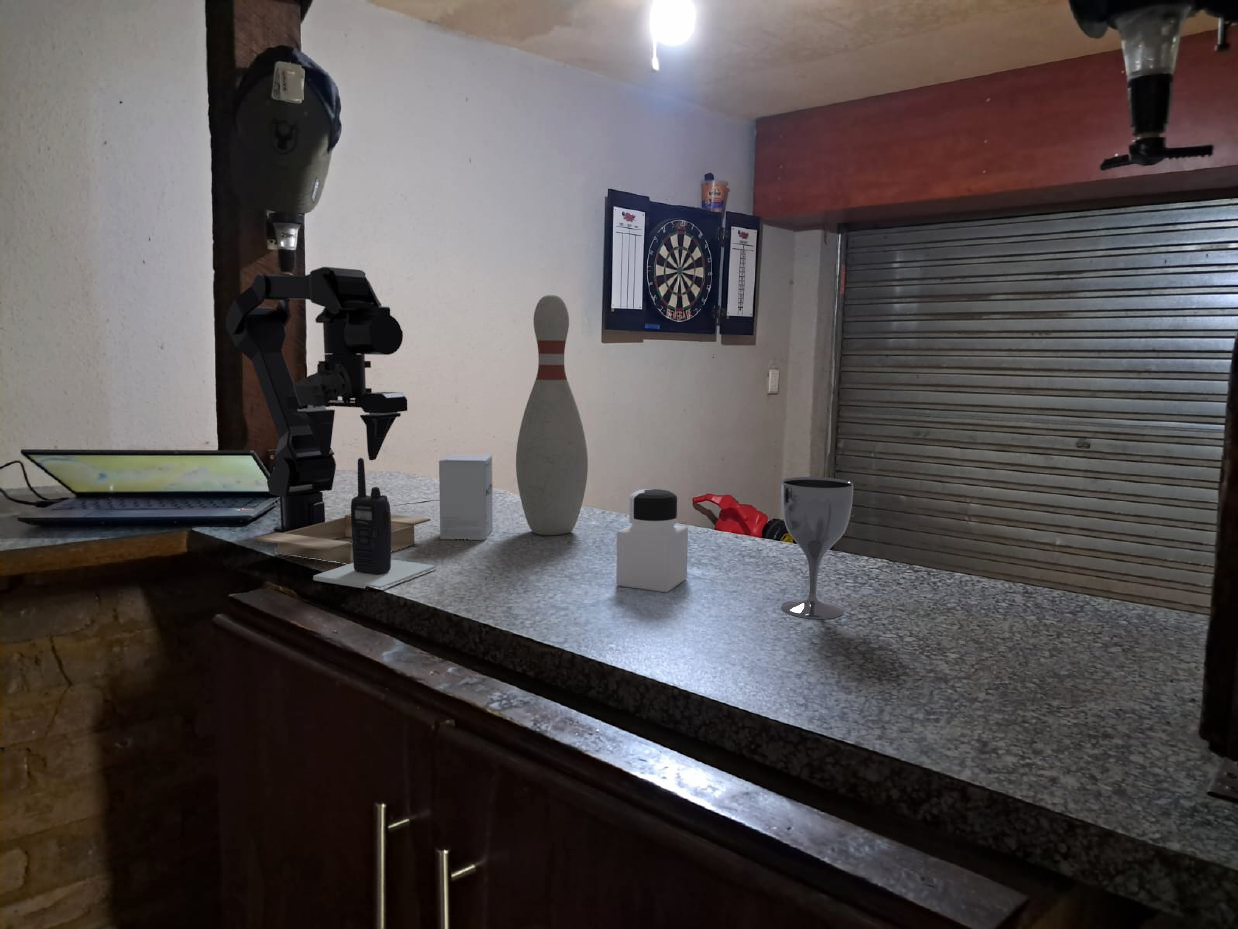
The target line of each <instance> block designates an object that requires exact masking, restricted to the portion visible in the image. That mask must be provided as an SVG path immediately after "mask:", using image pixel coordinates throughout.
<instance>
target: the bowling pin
mask: <svg viewBox="0 0 1238 929" xmlns="http://www.w3.org/2000/svg"><path fill="white" fill-rule="evenodd" d="M569 326H570V316H569V312H568V308H567V305H566V303H565V302H564V300H563V299H562V297H560V296H558V295H556V294H555V295H554V294H547V295H543V296H542V297H541V298H540V299H539V300H538V302H537V303H536V306H535V309H534V312H533V328H534V335H535V339H536V344H537V350H538V352H537V354H538V357H537V358H538V368H537V374H536V377H535V380H534V382H533V386H532V388H531V391H530V394H529V397H528V400H527V403H526V406H525V408H524V412H523V415H522V420H521V422H520V428H519V432H518V437H517V443H516V454H515V470H516V472H515V473H516V482H517V487H518V492H519V497H520V502H521V506H522V510H523V514H524V517H525V520H526V523H527V524H528V527H529V529H530V530H531V531H532V532H533V533H534V534H537V535H540V536H557V535H558V536H560V535H565V534H569V533H570V532H572V531H573V530H574V529H575V527H576V524H577V522H578V519H579V517H580V513H581V510H582V505H583V502H584V497H585V494H586V486H587V481H588V472H589V471H588V468H589V460H588V457H589V456H588V448H587V441H586V436H585V431H584V427H583V426H584V425H583V421H582V419H581V415H580V411H579V409H578V405H577V402H576V400H575V397H574V394H573V391H572V388H571V386H570V383H569V381H568V378H567V375H566V374H567V373H566V368H565V349H566V344H567V338H568V334H569V328H570V327H569Z"/></svg>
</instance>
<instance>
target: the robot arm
mask: <svg viewBox="0 0 1238 929" xmlns="http://www.w3.org/2000/svg"><path fill="white" fill-rule="evenodd" d="M265 300H270V301H279V302H278V304H277V305H276V306H275V307H276V308H275V307H273V306H261V305H262V304H263V303H264V301H265ZM291 300H309V301H310V302H311V303H312V304H315V305H317V306H321V307H322V308H323V310H322V311H321V312H320V313H319V314H318V315H317V316H316V317H315V319H314V320H315V323H316V324H322V326H323V327H322V328H323V329H322V330H323V349H324V351H323V352H324V360H318V363H317V366H316V368H317V369H316V372H315V373H313V374H310V375H308V376H306V377H304V378H302V379H300V380H299V381H297V382H295V383H294V381H293V378H292V375H291V372H290V369H289V367H288V364H287V361H286V358H285V355H284V352H283V347H284V344H285V341H286V338H287V332H286V327H287V325H288V323H289V321H290V320H291V317H292V314H291V310H290V305H289V303H290V301H291ZM225 327H226V331H227V332H228V334H229V336H230V337H231V340H232V341H233V342H232V343H233V345H234V346H235V348H236V349H237V350H238V351H239V352H241V353H242V354H243V355H244V356H245V357H247V358H248V359H249V361H251V362H252V366H253V369H254V372H255V373H256V376H257V380H258V382H259V385H260V388H261V391H262V394H263V396H264V399H265V403H266V405H267V408H268V411H269V413H270V417H271V419H272V422H273V425H274V428H275V430H276V433H277V436H278V443H277V446H276V449H275V454H274V459H275V466H274V468H273V470H272V471H271V473H270V475H269V477H268V479H267V481H266V485H267V489H268V493H269V494H270V495H272V496H277V497H279V509H280V525H279V526H276V527H275V526H274V527H273V531H274V532H279V533H284V532H288V531H292V530H296V529H300V528H304V527H308V526H312V525H316V524H320V523H324V522H326V512H325V511H326V510H325V506H326V505H325V501H324V498H323V497H324V495H323V492H325V491H327V492H328V491H330V492H331V491H332V490H333V486H334V479H335V474H336V468H337V464H336V460H335V457H334V455H335V452H334V451H333V450H332V448H331V446H332V439H333V430H334V423H335V422H334V421H335V415H336V414H335V413H336V410H335V409H331V408H330V407H341V408H342V407H343V408H361V409H362V412H364V413H366V414H360V415H359V417H360V418H361V420H362V422H363V423H364V425H365V428H366V445H367V455H368V456H367V457H368V460H369V461H375V460H376V459H377V457H378V455H379V453H380V451H381V449H382V446H383V443H384V442H385V439H386V437H387V435H388V433H389V431H390V429H391V427H392V426H393V424H394V422H395V420H396V418H399V417H401V415H402V413H401V412H407V411H408V399H407V397H406V396H405V394H404V392H399V391H398V392H397V391H378V392H377V391H376V392H375V391H374V392H373V391H372V388H370V387H367V382H366V381H367V380H366V369H371V368H372V367H371V366H372V362H371V360H366V357H365V356H366V355H375V356H378V355H379V356H380V355H381V356H382V355H384V356H389V355H390V356H391V355H393V354H395V353H396V352H397V351H398V350H399V349H400V347H401V346H402V343H403V338H404V331H403V330H402V327H401V325H400V323H399V321H398V320H397V319H396V318H395V317H394V316H392V314H391V307H390V306H382V303H381V301H380V300H379V299H378V297H377V294H376V292H375V290H374V289H373V286H372V284H371V283H370V281H369V279H368V278H367V276H366V273H365V271H364V270H362V269H353V268H343V267H341V268H340V267H331V266H321V267H319V268H316V269H312V270H311V271H310V272H309V274H305V275H304V274H299V275H298V274H284V275H283V274H271V273H261V274H258V275H256V276H255V277H254V280H253V282H252V284H251V285H250V287H248V288H247V289H245V290H244V291H243V292H241V293H240V294H239V295H238V296H236V297H235V298H234V299H233V301H232V304H231V305H230V308H229V309H228V312H227V314H226V317H225ZM339 397H341V399H339ZM327 408H329V409H327Z"/></svg>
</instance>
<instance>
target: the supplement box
mask: <svg viewBox="0 0 1238 929" xmlns="http://www.w3.org/2000/svg"><path fill="white" fill-rule="evenodd" d="M438 470H439V471H438V475H439V476H438V478H439V485H438V486H439V487H438V488H439V533H440V534H439V539H440V540H455V539H458V541H459V539H461V540H462V539H464V540H462V541H468V540H469V541H485V540H486V539H487V537H488V536H489V534H490V533H491V532H492V531H493V530H494V528H493V527H494V526H493V525H494V524H493V523H494V522H493V519H494V518H493V516H494V514H493V512H494V510H493V506H494V505H493V504H494V503H493V501H494V500H493V496H494V495H493V494H494V493H493V492H494V491H493V489H494V488H493V486H494V485H493V455H492V454H491V455H490V454H448V455H447V456H445V457H443V458H442V459H440V460H438ZM466 539H468V540H466ZM461 540H460V541H461Z"/></svg>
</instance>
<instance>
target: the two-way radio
mask: <svg viewBox="0 0 1238 929" xmlns="http://www.w3.org/2000/svg"><path fill="white" fill-rule="evenodd" d="M365 471H366V470H365V460H364V458H363V457H359V458H358V459H357V495H356V496H355V497H353V498H352V499H351V502H350V514H351V527H352V537H351V543H352V548H353V564H354V570H355V571H357V572H366V573H375V574H377V575H379V574H382V573H385V572H388V571H389V570H390V568H391V559H392V552H391V514H392V513H391V506H390V505H391V504H390V501H389V499H388V496H387V495H383V494H382V493H381V489H380V487H378V486H373V487H371V490H370V491H371V492H370V495H367V486H366V472H365ZM381 494H382V495H381Z"/></svg>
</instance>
